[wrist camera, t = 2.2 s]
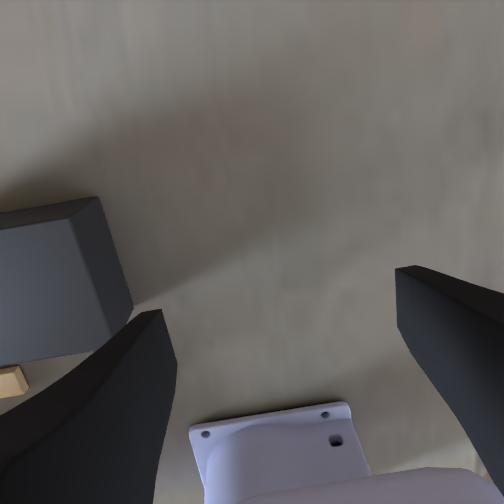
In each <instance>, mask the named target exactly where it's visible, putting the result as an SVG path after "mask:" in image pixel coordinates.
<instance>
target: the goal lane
mask: <svg viewBox="0 0 504 504" xmlns="http://www.w3.org/2000/svg"><path fill="white" fill-rule="evenodd" d="M28 388H29V386H28V384H27V382H26V380H25V377H24V375H23V373H22V371H21V369H20V367H19V366H15V367H9V368H3V369H0V398H5V397H11V396H17V395H23V394H25V392H26V391H27V389H28Z"/></svg>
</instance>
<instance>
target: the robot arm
mask: <svg viewBox="0 0 504 504" xmlns="http://www.w3.org/2000/svg"><path fill="white" fill-rule="evenodd" d="M395 281H396V307H397V327H398V329H399V331H400V333H401V335H402V337H403V339H404V341H405V343H406V345H407V347H408V348H409V350H410V352H411V354H412V355H413V357H414V358H415V360H416V361H417V363H418V364H419V365H420V367H421V368H422V370H423V371H424V372H425V374H426V375H427V377H428V378H429V379H430V381H431V382H432V384H433V385H434V386H435V388H436V389H437V391H438V392H439V393H440V395H441V396H442V397H443V399H444V400H445V402H446V403H447V404H448V406H449V407H450V409H451V410H452V411H453V413H454V414H455V416H456V417H457V419H458V420H459V422H460V424H461V425H462V427H463V428H464V430H465V432H466V434H467V435H468V437H469V439H470V441H471V442H472V444H473V446H474V448H475V449H476V451H477V453H478V455H479V456H480V458H481V460H482V462H483V464H484V466H485V467H486V469H487V471H488V473H489V475H490V477H491V478H492V480H493V482H494V484H495V485H494V484H493V483H491V482H489V481H487V480H486V479H484V478H482V477H481V476H479V475H477V474H475V473H474V472H472V471H470V470H467V469H461V468H434V467H425V468H418V469H412V470H406V471H400V472H393V473H387V474H381V475H374V476H372V474H371V471H370V468H369V466H368V463H367V460H366V458H365V455H364V452H363V449H362V447H361V444H360V441H359V438H358V436H357V433H356V430H355V427H354V425H353V422H352V419H351V410H350V408H349V405H348V404H347V403H346V402H344V401H340V402H333V403H327V404H321V405H315V406H308V407H302V408H296V409H290V410H283V411H277V412H271V413H265V414H259V415H252V416H246V417H240V418H234V419H227V420H221V421H215V422H209V423H202V424H196V425H193V426H192V427H190V429H189V439H190V442H191V445H192V449H193V452H194V455H195V459H196V462H197V466H198V469H199V472H200V476H201V479H202V482H203V486H204V489H205V498H204V504H504V293H500V292H497V291H493V290H490V289H487V288H484V287H481V286H478V285H475V284H472V283H469V282H466V281H463V280H460V279H457V278H454V277H451V276H449V275H446V274H443V273H440V272H437V271H434V270H431V269H428V268H425V267H421V266H417V265H414V266H408V267H402V268H396V269H395ZM176 375H177V360H176V357H175V354H174V350H173V347H172V343H171V340H170V337H169V333H168V330H167V326H166V323H165V320H164V316H163V313H162V309H157V310H151V311H146V312H141V313H140V314H139V315H137V316H136V317H135V318H133V319H132V320H131V321H130V322H129V323H128V324H126V325H125V326H124V327H123V328H122V329H121V330H120V331H118V332H117V333H116V334H115V335H114V336H113V337H112V338H111V339H109V340H108V341H107V342H106V343H105V344H104V345H103V346H101V347H100V348H99V349H98V350H97V351H95V352H94V353H93V354H92V355H90V356H89V357H88V358H87V359H85V360H84V361H83V362H82V363H81V364H79V365H78V366H77V367H76V368H74V369H73V370H72V371H70V372H69V373H68V374H66V375H65V376H63V377H62V378H61V379H59V380H58V381H56V382H55V383H53V384H52V385H50V386H49V387H47V388H46V389H44V390H43V391H41V392H40V393H38V394H36V395H35V396H33V397H31V398H30V399H28V400H26V401H25V402H23V403H21V404H19V405H18V406H16V407H14V408H13V409H11V410H9V411H8V412H6V413H4V414H2V415H0V504H153V497H154V489H155V481H156V474H157V469H158V464H159V459H160V454H161V450H162V446H163V442H164V437H165V433H166V429H167V425H168V421H169V416H170V412H171V408H172V403H173V399H174V394H175V386H176ZM322 412H327V413H325V414H321V413H322ZM203 431H208V432H203Z"/></svg>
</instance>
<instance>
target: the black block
mask: <svg viewBox="0 0 504 504" xmlns="http://www.w3.org/2000/svg"><path fill="white" fill-rule="evenodd" d="M133 309H134V307H133V304H132V301H131V297H130V294H129V291H128V288H127V285H126V282H125V278H124V275H123V272H122V269H121V266H120V263H119V259H118V256H117V253H116V250H115V247H114V244H113V240H112V237H111V234H110V231H109V228H108V224H107V221H106V218H105V215H104V212H103V209H102V205H101V202H100V199H99V197H97V196H96V197H91V198H85V199H79V200H73V201H68V202H62V203H56V204H51V205H45V206H39V207H33V208H28V209H22V210H16V211H10V212H5V213H0V366H5V365H11V364H17V363H23V362H29V361H35V360H41V359H47V358H53V357H59V356H65V355H71V354H77V353H83V352H89V351H95V350H98V349H99V348H100V347H101V346H103V345H104V344H105V343H106V342H107V341H108V340H109V339H111V338H112V337H113V336H114V335H115V334H116V333H117V332H118V331H120V330H121V329H122V328H123V327H124V326H125V325H126V323H127V321H128V319H129V317H130V315H131V313H132V311H133Z"/></svg>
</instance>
